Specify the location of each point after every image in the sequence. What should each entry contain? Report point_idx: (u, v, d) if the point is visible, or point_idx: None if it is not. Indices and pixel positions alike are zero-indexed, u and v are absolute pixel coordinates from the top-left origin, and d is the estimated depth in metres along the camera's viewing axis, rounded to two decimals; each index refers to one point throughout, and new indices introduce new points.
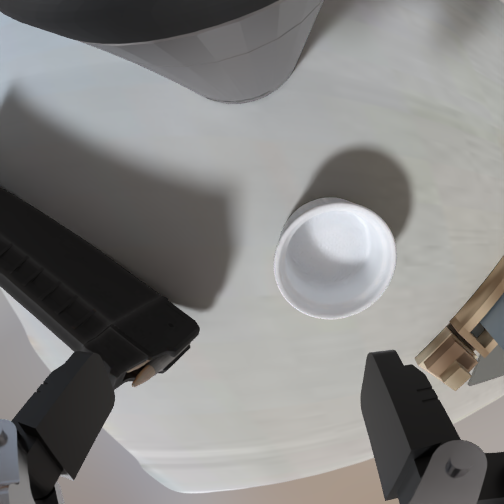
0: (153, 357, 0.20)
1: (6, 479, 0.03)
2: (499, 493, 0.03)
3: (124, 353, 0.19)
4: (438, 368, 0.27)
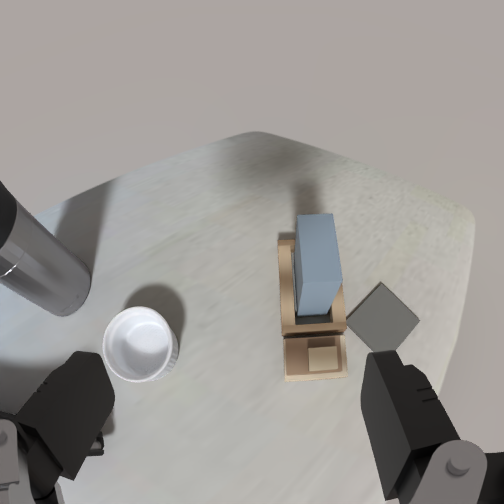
0: None
1: (6, 479, 0.03)
2: (499, 493, 0.03)
3: None
4: (298, 367, 0.32)
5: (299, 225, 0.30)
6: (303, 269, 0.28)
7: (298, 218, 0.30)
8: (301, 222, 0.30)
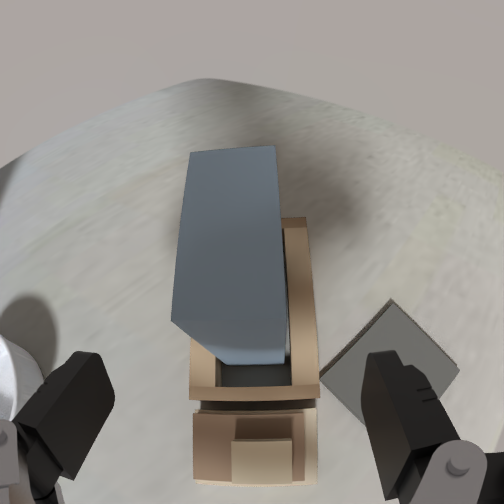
0: None
1: (6, 479, 0.03)
2: (499, 493, 0.03)
3: None
4: (215, 468, 0.14)
5: (189, 173, 0.12)
6: (177, 282, 0.10)
7: (191, 159, 0.12)
8: (196, 167, 0.12)
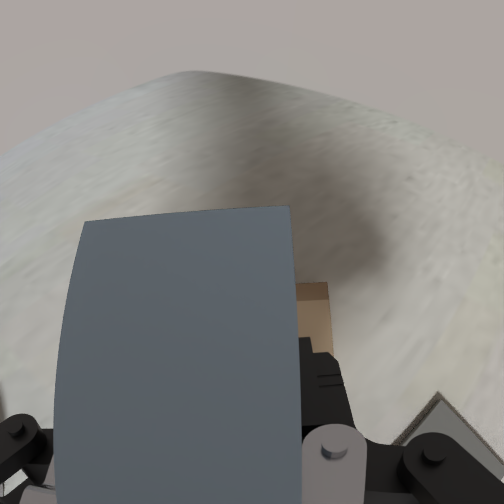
0: None
1: None
2: (384, 487, 0.04)
3: None
4: None
5: (74, 285, 0.04)
6: None
7: (84, 241, 0.05)
8: (88, 266, 0.05)
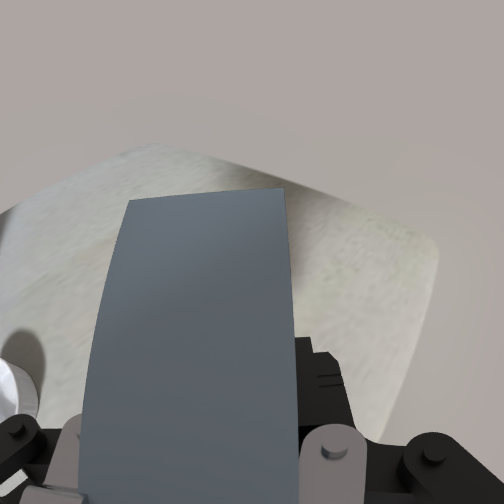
0: None
1: None
2: (384, 487, 0.04)
3: None
4: None
5: (120, 242, 0.06)
6: (83, 470, 0.04)
7: (128, 213, 0.07)
8: (133, 229, 0.06)
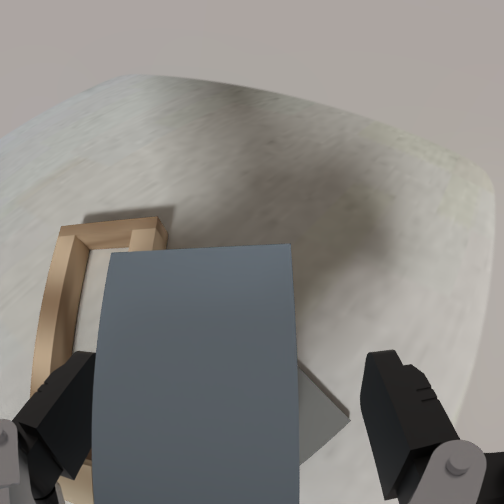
0: None
1: (6, 479, 0.03)
2: (498, 493, 0.03)
3: None
4: None
5: (106, 310, 0.05)
6: None
7: (112, 271, 0.06)
8: (118, 294, 0.06)
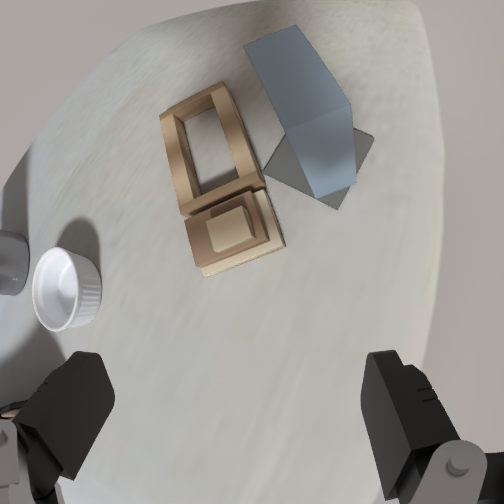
0: (14, 406, 0.24)
1: (6, 479, 0.03)
2: (499, 493, 0.03)
3: (2, 409, 0.23)
4: (206, 251, 0.25)
5: (250, 56, 0.16)
6: (277, 110, 0.15)
7: (246, 49, 0.16)
8: (252, 51, 0.16)
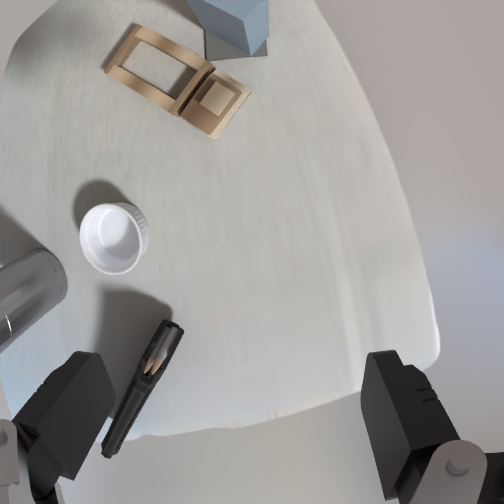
0: (146, 355, 0.35)
1: (6, 479, 0.03)
2: (499, 493, 0.03)
3: (139, 370, 0.35)
4: (209, 121, 0.32)
5: None
6: (231, 13, 0.21)
7: None
8: None
